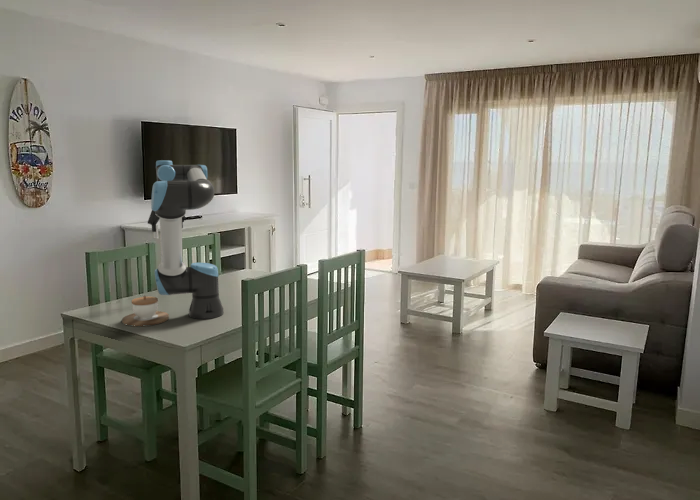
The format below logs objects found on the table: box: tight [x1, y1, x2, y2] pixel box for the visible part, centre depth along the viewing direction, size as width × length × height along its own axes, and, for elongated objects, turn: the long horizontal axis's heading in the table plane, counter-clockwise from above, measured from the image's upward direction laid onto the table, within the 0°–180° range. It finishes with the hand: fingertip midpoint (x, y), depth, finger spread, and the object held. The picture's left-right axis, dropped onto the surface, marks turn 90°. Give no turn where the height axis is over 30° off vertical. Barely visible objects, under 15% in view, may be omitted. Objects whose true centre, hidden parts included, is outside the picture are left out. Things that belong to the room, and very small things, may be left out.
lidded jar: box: [131, 295, 159, 319], centre depth 235 cm, size 11×11×9 cm
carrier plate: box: [121, 310, 170, 327], centre depth 236 cm, size 19×19×1 cm
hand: (168, 236), depth 263 cm, fingers open, 13 cm apart
